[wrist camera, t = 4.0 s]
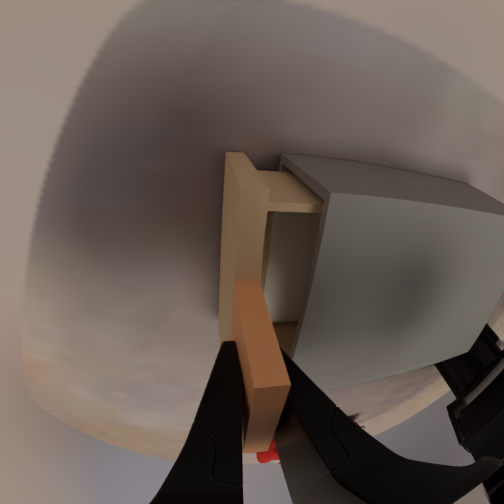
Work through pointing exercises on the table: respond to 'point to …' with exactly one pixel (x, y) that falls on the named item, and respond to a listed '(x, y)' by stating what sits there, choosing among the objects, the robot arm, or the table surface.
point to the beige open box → (264, 283)
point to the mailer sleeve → (393, 270)
